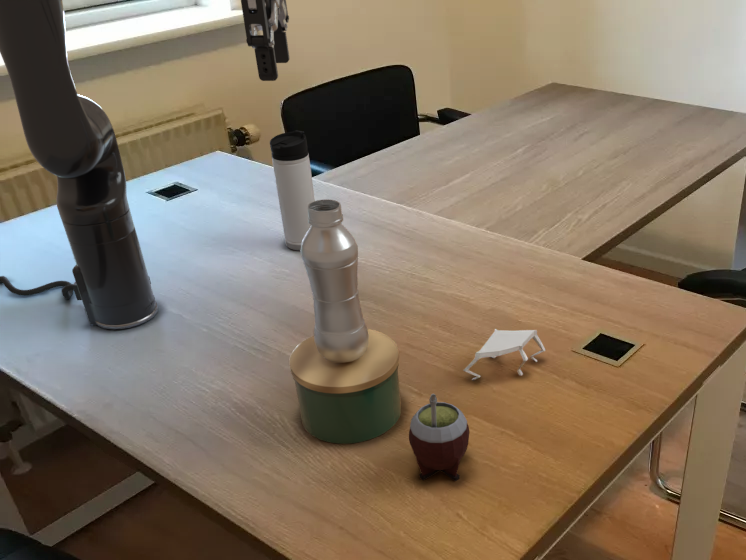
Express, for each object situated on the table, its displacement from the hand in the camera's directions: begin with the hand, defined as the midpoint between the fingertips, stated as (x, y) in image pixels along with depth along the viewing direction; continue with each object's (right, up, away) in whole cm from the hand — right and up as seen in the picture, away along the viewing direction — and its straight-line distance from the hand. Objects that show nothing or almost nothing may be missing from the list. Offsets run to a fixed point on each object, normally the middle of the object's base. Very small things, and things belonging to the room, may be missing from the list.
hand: (275, 71), depth 102 cm
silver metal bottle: (+9, -36, -1) cm, 37 cm away
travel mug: (-8, -15, +46) cm, 49 cm away
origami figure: (+29, -38, +12) cm, 49 cm away
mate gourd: (+22, -50, -5) cm, 55 cm away
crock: (+9, -44, +4) cm, 45 cm away
